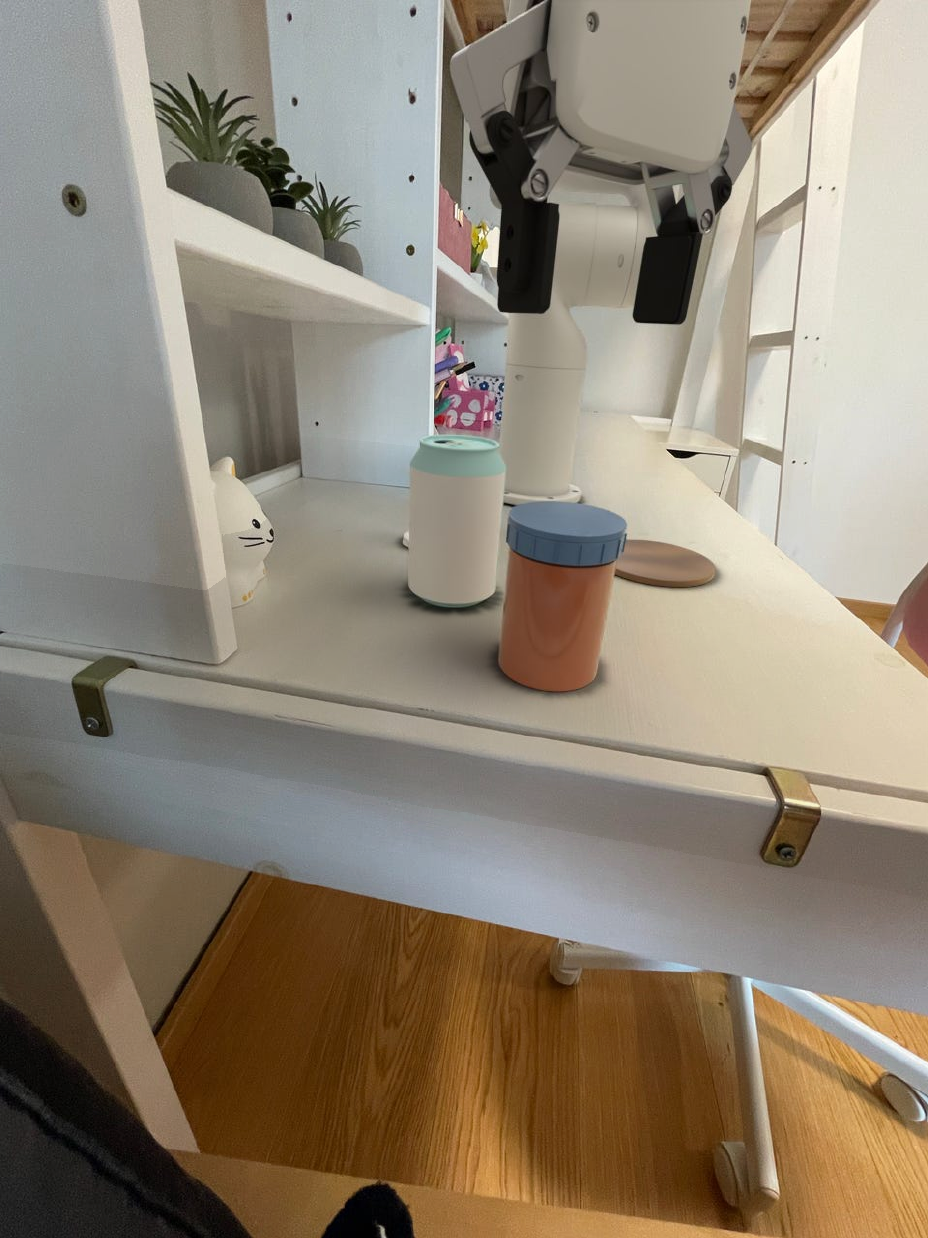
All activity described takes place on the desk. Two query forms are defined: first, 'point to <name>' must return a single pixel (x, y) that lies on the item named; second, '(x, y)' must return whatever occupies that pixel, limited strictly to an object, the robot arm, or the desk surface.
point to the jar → (553, 622)
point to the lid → (566, 533)
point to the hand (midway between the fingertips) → (594, 317)
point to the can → (455, 519)
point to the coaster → (663, 564)
